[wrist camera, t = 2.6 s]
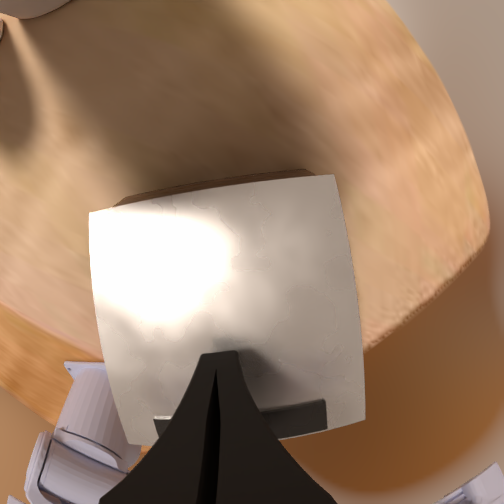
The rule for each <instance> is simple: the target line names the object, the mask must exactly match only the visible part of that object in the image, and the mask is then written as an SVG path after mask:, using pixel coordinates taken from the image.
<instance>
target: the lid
mask: <svg viewBox="0 0 504 504" xmlns="http://www.w3.org/2000/svg"><path fill="white" fill-rule="evenodd" d="M89 245H90V264H91V277H92V287H93V296H94V305H95V312H96V319H97V325H98V331H99V337H100V342H101V348H102V353H103V357H104V362H105V366H106V371H107V375H108V379H109V383H110V387H111V390H112V394H113V398H114V401H115V405H116V408H117V411H118V414H119V417H120V421H121V424H122V426H123V429H124V432H125V435H126V438H127V441H128V443H129V444H135V445H146V446H153V445H154V444H155V442H156V441H157V440H158V438H159V437H160V435H161V434H162V432H163V431H164V429H165V428H166V426H167V425H168V423H169V421H170V420H171V418H172V416H173V414H174V413H175V411H176V409H177V407H178V405H179V404H180V402H181V400H182V398H183V396H184V393H185V391H186V389H187V387H188V385H189V383H190V381H191V378H192V376H193V374H194V371H195V369H196V366H197V363H198V360H199V358H200V355H201V354H204V353H213V352H222V351H231V350H235V351H237V352H238V355H239V359H240V363H241V367H242V372H243V376H244V380H245V382H246V385H247V387H248V389H249V391H250V393H251V396H252V398H253V400H254V402H255V404H256V405H257V407H258V409H259V411H260V413H261V414H262V416H263V418H264V419H265V421H266V423H267V424H268V426H269V427H270V429H271V430H272V432H273V433H274V434H275V436H276V437H277V439H278V440H282V439H288V438H294V437H299V436H304V435H309V434H313V433H318V432H323V431H326V430H330V429H334V428H338V427H342V426H346V425H349V424H353V423H356V422H359V421H362V420H365V384H364V383H365V381H364V362H363V348H362V336H361V325H360V316H359V307H358V299H357V291H356V284H355V277H354V271H353V264H352V258H351V252H350V247H349V241H348V236H347V230H346V225H345V220H344V215H343V211H342V206H341V201H340V197H339V193H338V188H337V184H336V180H335V176H334V174H331V175H318V176H307V177H296V178H287V179H277V180H269V181H260V182H253V183H245V184H238V185H231V186H224V187H217V188H211V189H204V190H198V191H192V192H187V193H181V194H176V195H170V196H165V197H160V198H155V199H150V200H145V201H140V202H135V203H130V204H126V205H121V206H117V207H113V208H108V209H104V210H100V211H96V212H92V213H89Z"/></svg>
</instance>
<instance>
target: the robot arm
mask: <svg viewBox="0 0 504 504" xmlns="http://www.w3.org/2000/svg"><path fill="white" fill-rule="evenodd" d="M64 366H65V368H66V369H67V370H68V372H69V373H70V375H71V376H72V377H73V379H74V382H73V385H72V387H71V389H70V392H69V394H68V396H67V399H66V401H65V404H64V406H63V409H62V412H61V414H60V417H59V419H58V422H57V425H56V428H55V430H54V432H53V433H52V435H51V433H50V432H48V431H45V432H41V433H40V434H39V436H38V439H37V441H36V444H35V447H34V450H33V453H32V456H31V459H30V462H29V466H28V469H27V473H26V481H25V485H24V490H25V492H26V497H27V499H28V500H29V501H30V503H31V504H337V503H336V501H335V500H334V499H333V498H332V496H331V495H330V494H329V493H328V492H326V491H325V490H324V489H323V488H322V487H321V486H319V484H317V483H316V482H315V481H314V480H313V479H312V478H311V477H310V476H309V475H308V474H307V473H306V472H305V471H304V470H303V469H302V468H301V467H300V465H299V464H298V463H297V462H296V461H295V460H294V459H293V457H292V456H291V455H290V454H289V453H288V452H287V450H286V449H285V448H284V447H283V446H282V444H281V443H280V441H279V440H278V439H277V437H276V436H275V434H274V433H273V432H272V430H271V429H270V427H269V426H268V424H267V423H266V421H265V419H264V418H263V416H262V414H261V413H260V411H259V409H258V407H257V405H256V404H255V402H254V400H253V398H252V396H251V393H250V391H249V389H248V387H247V385H246V382H245V380H244V376H243V372H242V367H241V363H240V359H239V355H238V352H237V351H235V350H231V351H222V352H213V353H204V354H201V355H200V358H199V360H198V363H197V366H196V369H195V371H194V374H193V376H192V378H191V381H190V383H189V385H188V387H187V389H186V391H185V393H184V396H183V398H182V400H181V402H180V404H179V405H178V407H177V409H176V411H175V413H174V414H173V416H172V418H171V420H170V421H169V423H168V425H167V426H166V428H165V429H164V431H163V432H162V434H161V435H160V437H159V438H158V440H157V441H156V442H155V444H154V445H153V446H152V448H151V449H150V450H149V451H148V453H147V454H146V455H145V456H144V458H143V459H142V460H141V461H140V462H139V463H138V464H137V466H135V467H134V468H133V470H131V471H129V470H128V467H130V466H132V465H133V464H134V463H135V462H136V461H137V459H138V457H139V455H140V452H141V445H135V444H129V443H128V441H127V438H126V435H125V432H124V429H123V426H122V424H121V421H120V417H119V414H118V411H117V408H116V405H115V401H114V398H113V394H112V390H111V387H110V383H109V379H108V375H107V371H106V366H105V363H102V362H74V361H65V362H64ZM7 504H25V503H24V502H22V501H20V500H18V499H17V498H15V497H13V496H12V495H9V497H8V502H7ZM433 504H504V475H503V474H502V471H501V469H500V468H499V465H498V463H497V462H494V463H492V464H491V465H490V466H488V467H487V468H486V469H484V470H483V471H482V472H481V473H479V474H478V475H476V476H475V477H473V478H471V479H470V480H468V481H467V482H466V483H464V484H462V485H461V486H459V487H458V488H456V489H455V490H453V491H452V492H450V493H448V494H447V495H445V496H444V497H443V498H442V499H440V500H438V501H437V502H435V503H433Z"/></svg>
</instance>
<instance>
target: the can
mask: <svg viewBox="0 0 504 504" xmlns="http://www.w3.org/2000/svg"><path fill="white" fill-rule="evenodd" d="M2 34H3V20H2V19H1V18H0V41H1V38H2Z"/></svg>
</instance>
